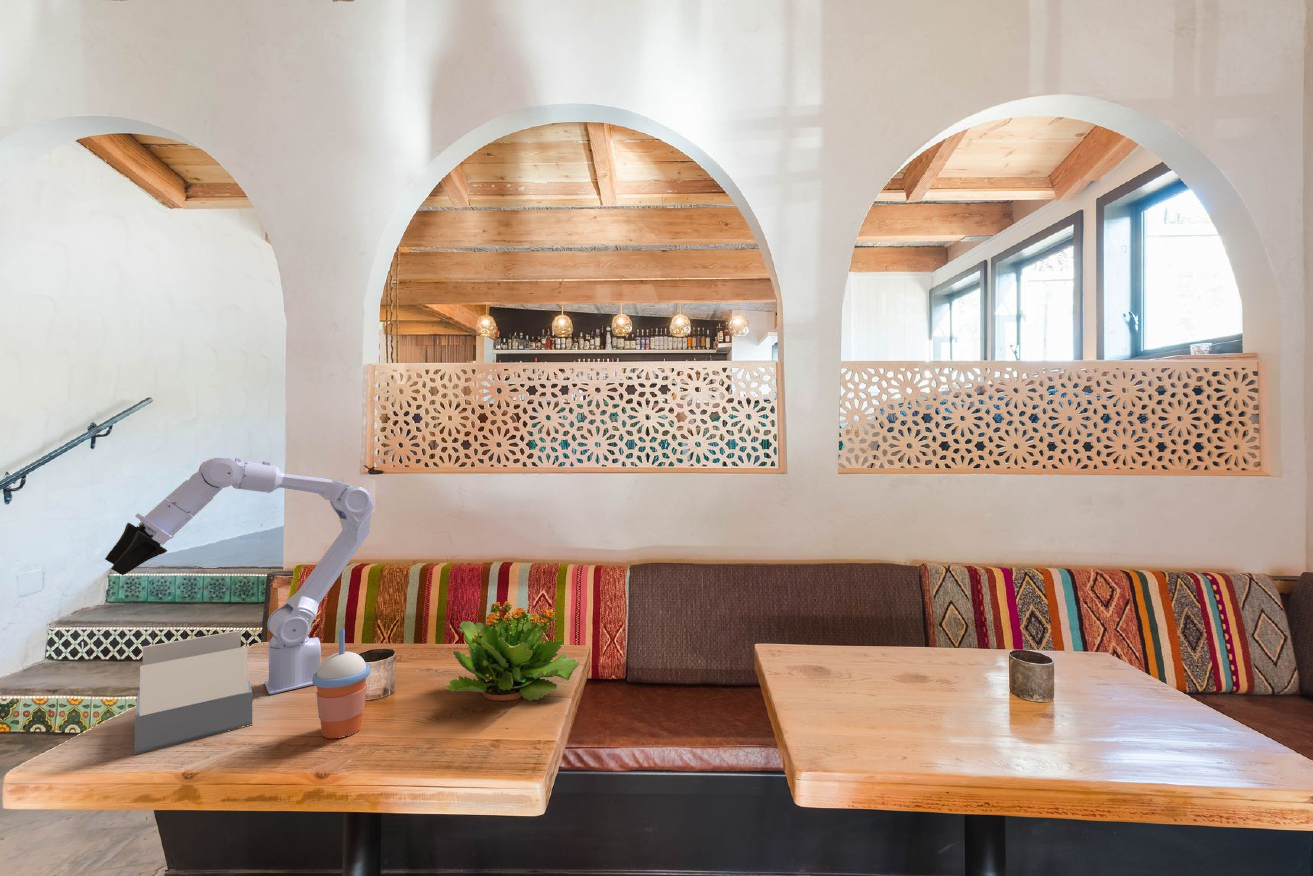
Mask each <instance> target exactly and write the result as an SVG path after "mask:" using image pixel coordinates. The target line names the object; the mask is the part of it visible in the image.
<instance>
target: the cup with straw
mask: <svg viewBox="0 0 1313 876" xmlns="http://www.w3.org/2000/svg"><path fill="white" fill-rule="evenodd" d="M345 633H346V631H345V628H340V629H338V652H336V653H333V654H332V655H330V656H327V658H326V659H324V660H323V661H321V665H320V667H319V669H318V671H317V672H315V673H314V675H313V678H312V682H313V684H314V685H313V686H315V687H316V695H315V696H316V703H317V711H318V719H319V720H320V728H321V735H322V737H323V736H324V737H326V738H325V739H327V738H339V737H342V736H348V735H350V734H352V733H355V732H356V733H357V731H358V730H359V731H360V730H361V728H362V722H363V714H364V711H365V704H366V693H367V685H368V684H367V678H368V677H369V676H370V675H371V674H370V673H371V666H370V665H369V664H368V663H367V662H366V661H365V660H364V658H363V656H361V655H360V654H358V653H355V652H352V651H345V650H346V646H345V645H346V644H345V643H346V641H345V640H346V639H345V638H346V637H345V635H346V634H345ZM359 731H358V732H359ZM356 733H355V734H356ZM350 736H351V735H350ZM324 737H323V738H324ZM348 737H349V736H348ZM339 739H340V738H339Z"/></svg>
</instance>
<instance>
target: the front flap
mask: <svg viewBox="0 0 1313 876" xmlns="http://www.w3.org/2000/svg"><path fill="white" fill-rule="evenodd" d="M248 652H249V651H248V646H241V648H236V649H230V650H225V651H220V652H214V653H209V654H203V655H198V656H192V657H187V658H181V659H176V660H170V661H165V662H160V663H154V664H149V665H143V664H142V665H140V666H139V669H140V670H139V672H140V673H139V688H140V716H143V715H147V714H152V713H156V712H160V711H165V710H169V709H174V708H178V707H183V706H187V705H192V704H196V703H201V702H205V701H210V700H214V699H219V698H223V697H227V696H232V695H236V694H241V693H245V692H248V681H249V663H248V662H249V659H248V658H249V656H248Z"/></svg>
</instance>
